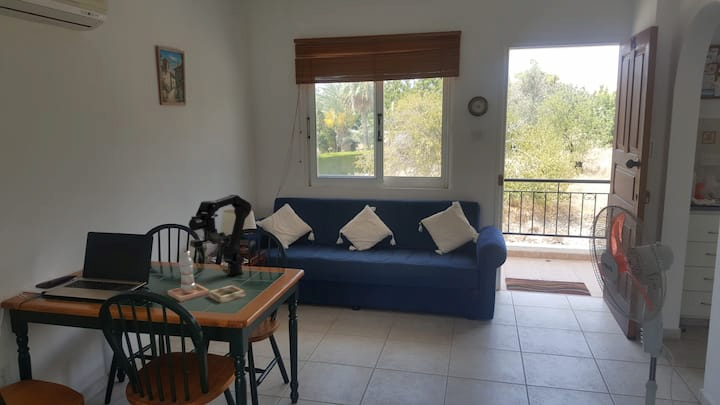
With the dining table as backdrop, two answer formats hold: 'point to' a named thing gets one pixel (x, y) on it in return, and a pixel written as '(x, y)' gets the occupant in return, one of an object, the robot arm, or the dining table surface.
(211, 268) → the dining table surface
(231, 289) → the collar
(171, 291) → the tray
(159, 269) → the dining table surface
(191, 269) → the plastic bottle
